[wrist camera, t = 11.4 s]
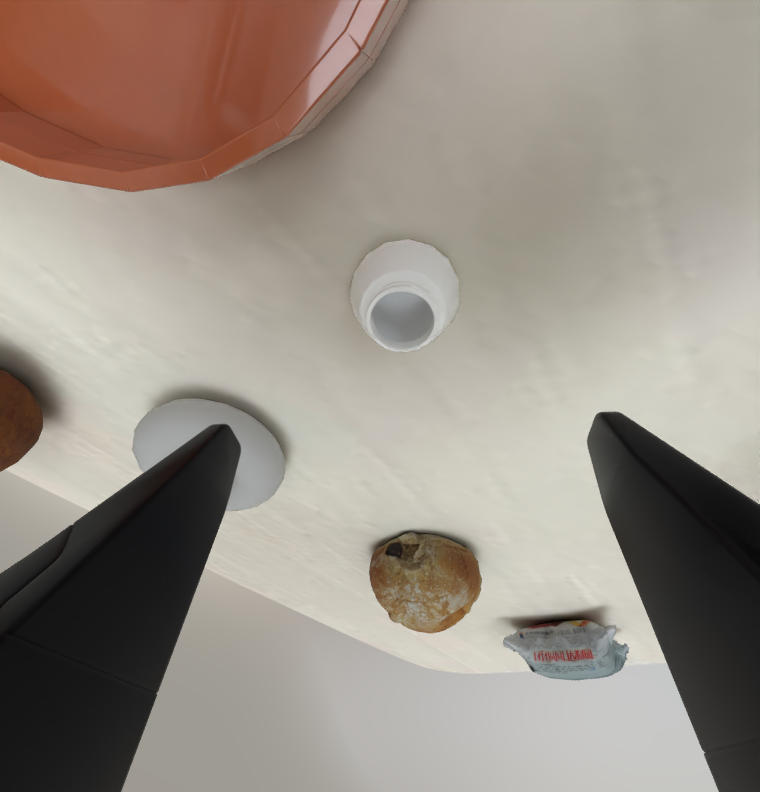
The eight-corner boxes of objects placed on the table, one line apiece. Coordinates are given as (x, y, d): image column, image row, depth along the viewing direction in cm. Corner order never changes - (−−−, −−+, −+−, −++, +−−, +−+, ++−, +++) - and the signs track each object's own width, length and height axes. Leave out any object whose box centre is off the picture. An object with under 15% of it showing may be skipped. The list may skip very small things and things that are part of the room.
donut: (176, 359, 21) (136, 442, 26) (141, 395, 18) (104, 480, 24) (316, 438, 24) (255, 498, 30) (304, 478, 22) (240, 536, 27)
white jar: (437, 347, 18) (474, 254, 15) (439, 381, 16) (484, 280, 13) (345, 324, 18) (364, 223, 15) (334, 356, 16) (353, 245, 13)
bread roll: (449, 493, 33) (428, 554, 26) (506, 579, 33) (502, 661, 26) (371, 522, 37) (336, 581, 30) (423, 597, 38) (400, 671, 31)
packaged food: (499, 617, 42) (507, 668, 38) (607, 605, 37) (629, 663, 33) (523, 639, 46) (533, 686, 43) (623, 631, 41) (643, 684, 38)
